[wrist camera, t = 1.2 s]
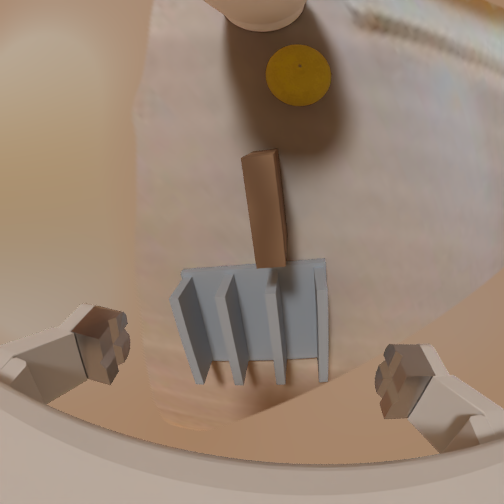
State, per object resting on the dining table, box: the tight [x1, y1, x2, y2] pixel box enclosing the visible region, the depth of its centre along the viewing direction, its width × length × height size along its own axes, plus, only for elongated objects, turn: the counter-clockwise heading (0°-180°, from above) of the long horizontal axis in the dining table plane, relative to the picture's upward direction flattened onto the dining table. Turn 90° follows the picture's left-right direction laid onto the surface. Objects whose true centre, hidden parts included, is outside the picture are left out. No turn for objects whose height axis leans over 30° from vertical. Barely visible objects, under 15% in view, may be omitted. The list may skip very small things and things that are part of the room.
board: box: [241, 149, 287, 269], centre depth 28 cm, size 2×9×8 cm, turn 8°
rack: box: [169, 258, 328, 385], centre depth 34 cm, size 16×13×6 cm
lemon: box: [266, 44, 331, 106], centre depth 23 cm, size 6×6×8 cm
